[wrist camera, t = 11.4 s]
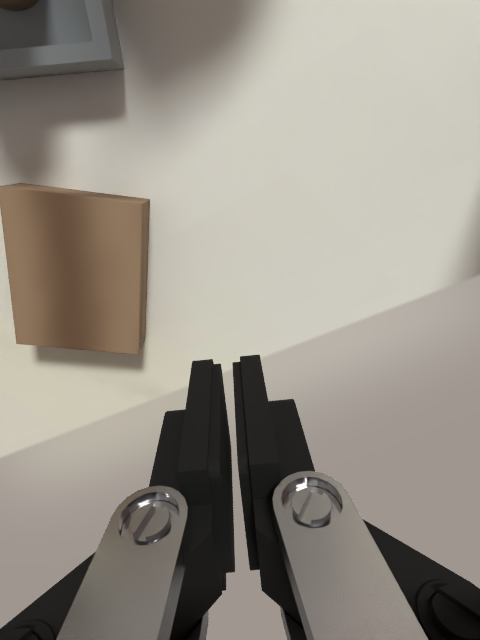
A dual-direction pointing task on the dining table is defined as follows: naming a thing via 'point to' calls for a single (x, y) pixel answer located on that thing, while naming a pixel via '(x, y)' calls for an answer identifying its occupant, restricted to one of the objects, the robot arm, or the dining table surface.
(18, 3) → the dowel
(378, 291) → the dining table surface
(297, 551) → the robot arm
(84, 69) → the tray
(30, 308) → the brown wooden brick
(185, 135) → the dining table surface
